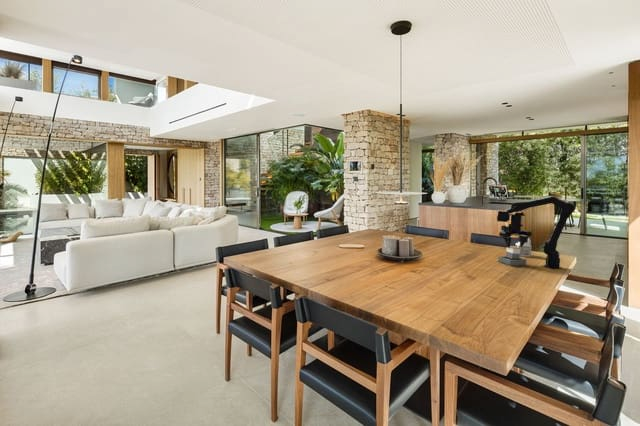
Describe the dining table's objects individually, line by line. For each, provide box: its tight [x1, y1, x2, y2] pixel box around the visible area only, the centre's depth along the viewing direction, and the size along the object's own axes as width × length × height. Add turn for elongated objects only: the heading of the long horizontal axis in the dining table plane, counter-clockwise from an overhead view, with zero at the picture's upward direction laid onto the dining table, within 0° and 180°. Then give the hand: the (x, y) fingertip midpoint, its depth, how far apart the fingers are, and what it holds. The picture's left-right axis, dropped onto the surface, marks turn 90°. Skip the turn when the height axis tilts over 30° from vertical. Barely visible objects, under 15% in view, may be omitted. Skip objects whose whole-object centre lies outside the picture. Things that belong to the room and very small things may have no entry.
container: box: [515, 236, 532, 258], centre depth 223 cm, size 8×8×13 cm
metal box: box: [505, 251, 521, 260], centre depth 202 cm, size 5×5×6 cm
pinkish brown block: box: [506, 245, 520, 254], centre depth 202 cm, size 6×4×4 cm
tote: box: [498, 255, 527, 267], centre depth 202 cm, size 11×11×4 cm
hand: (514, 247), depth 204 cm, fingers open, 9 cm apart
